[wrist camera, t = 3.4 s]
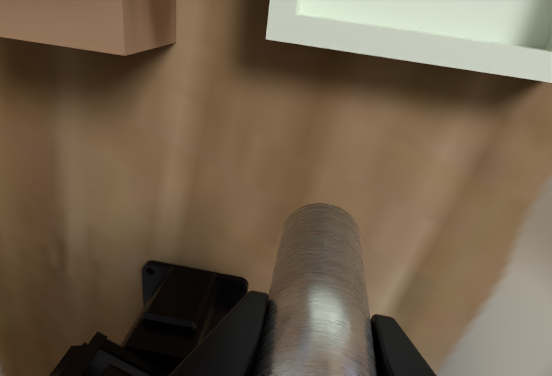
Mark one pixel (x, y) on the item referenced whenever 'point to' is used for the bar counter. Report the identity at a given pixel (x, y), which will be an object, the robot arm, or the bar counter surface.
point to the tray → (426, 31)
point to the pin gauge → (317, 300)
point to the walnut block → (91, 23)
